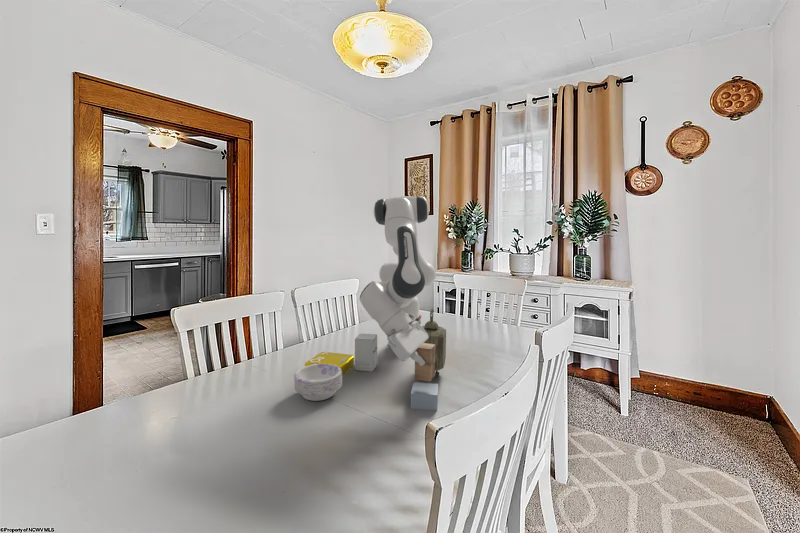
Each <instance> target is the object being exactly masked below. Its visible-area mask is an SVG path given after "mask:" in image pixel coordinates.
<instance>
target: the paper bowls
mask: <svg viewBox="0 0 800 533" xmlns="http://www.w3.org/2000/svg"><path fill="white" fill-rule="evenodd" d="M293 375H294V376H293V377H294V379H293V381H294V390H295V392H296V393H297V394H299V395H301V396H302V397H303V398H304V399H306V400H308V401H313V402H316V401H317V402H319V401H324V400H328V399H330V398H331V397H333V396H334V395H335V393H336V392H337V391H338V390H339V389H341V387H342V385H343V376H342V370H341V368H340V367H338V366H336V365H333V364H314V365H309V366H306V367H305V366H303V367H301V368H299V369H298V370H296V371H295V373H294V374H293Z"/></svg>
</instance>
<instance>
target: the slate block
mask: <svg viewBox="0 0 800 533" xmlns="http://www.w3.org/2000/svg"><path fill="white" fill-rule="evenodd" d="M438 403H439V383H431V382H430V383H429V382H428V383H426V382H413V383H412V388H411V392H410V409H412V410H413V409H415V410H424V411H425V410H427V411H438V407H439V406H438Z"/></svg>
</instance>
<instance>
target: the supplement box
mask: <svg viewBox="0 0 800 533" xmlns="http://www.w3.org/2000/svg"><path fill="white" fill-rule="evenodd" d="M376 366H378V334H377V333H375V334H374V333H359V334H358V335H357V336H356V337H355V338H354V370H355V371H361V372H373V371H374V370H375V368H376Z"/></svg>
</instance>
